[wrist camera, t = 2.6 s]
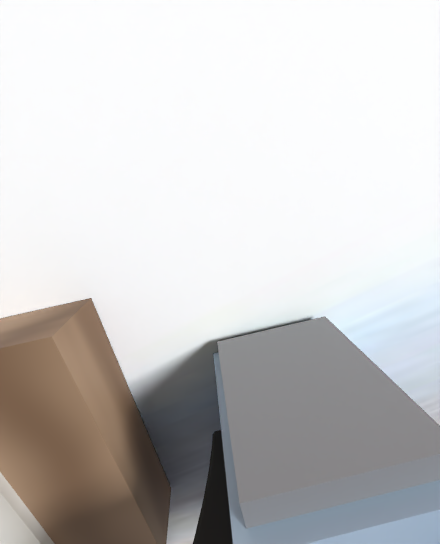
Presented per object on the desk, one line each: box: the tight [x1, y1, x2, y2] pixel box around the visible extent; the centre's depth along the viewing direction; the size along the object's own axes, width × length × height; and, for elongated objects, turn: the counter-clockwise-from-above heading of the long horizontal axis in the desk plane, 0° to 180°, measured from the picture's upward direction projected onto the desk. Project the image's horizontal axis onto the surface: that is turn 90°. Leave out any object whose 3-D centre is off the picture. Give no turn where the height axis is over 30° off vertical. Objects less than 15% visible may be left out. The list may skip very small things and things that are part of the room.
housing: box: [213, 317, 440, 544], centre depth 8 cm, size 8×5×6 cm, turn 12°
